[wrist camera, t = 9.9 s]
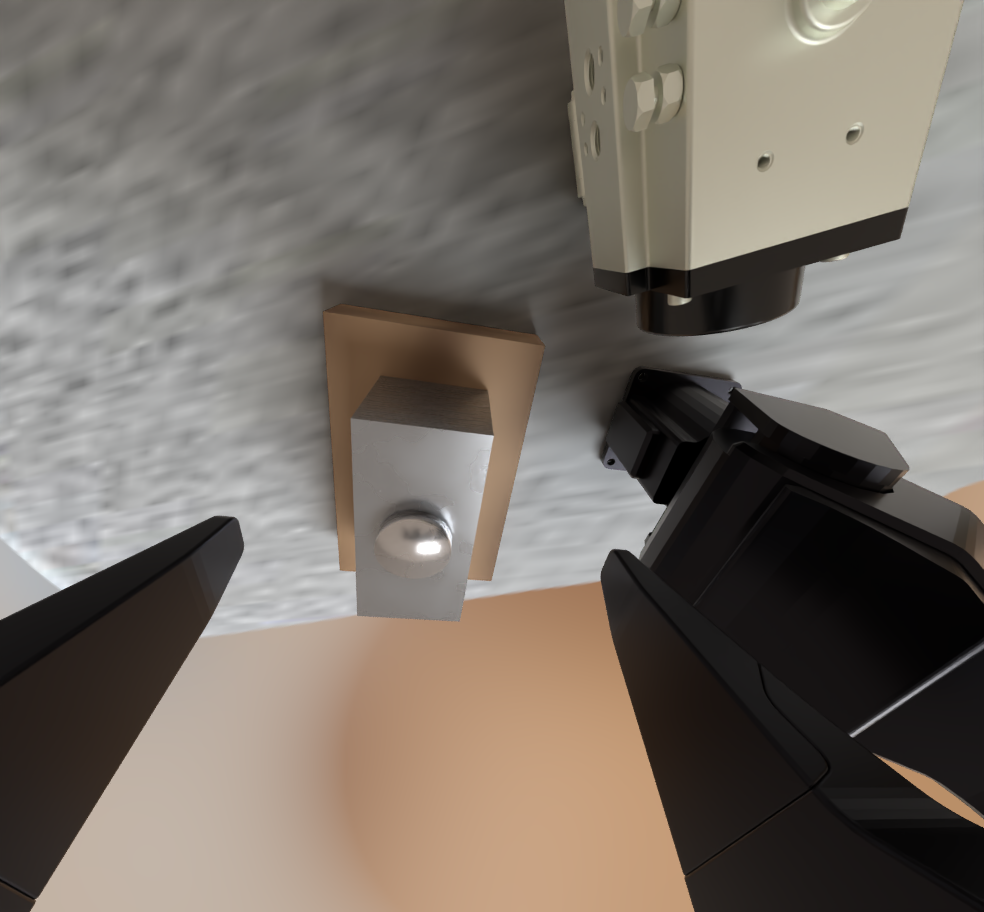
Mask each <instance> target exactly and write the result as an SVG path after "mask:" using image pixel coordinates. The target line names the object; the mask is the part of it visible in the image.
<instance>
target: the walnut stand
mask: <svg viewBox="0 0 984 912" xmlns="http://www.w3.org/2000/svg"><path fill="white" fill-rule="evenodd" d="M323 321H324V336H325V352H326V367H327V382H328V397H329V412H330V427H331V442H332V458H333V473H334V488H335V503H336V518H337V533H338V548H339V564H340V570H342V571H356V562H355V532H354V503H353V473H352V444H351V417H352V416H353V414H354V413H355V411H356V410H357V408H358V407H359V406H360V404H361V403H362V401H363V400H364V398H365V397H366V396H367V394H368V393H369V391H370V390H371V388H372V387H373V386H374V384H375V383H376V381H377V380H378V378H379V377H380V376H381V375H382V376H389V377H396V378H403V379H411V380H418V381H425V382H432V383H440V384H447V385H454V386H462V387H469V388H476V389H483V390H488V394H489V402H490V410H491V418H492V426H493V434H494V437H493V443H492V448H491V453H490V459H489V464H488V470H487V475H486V481H485V486H484V492H483V497H482V503H481V508H480V513H479V519H478V524H477V530H476V535H475V541H474V546H473V552H472V557H471V563H470V568H469V573H468V579H470V580H485V581H491V580H492V576H493V572H494V567H495V563H496V558H497V554H498V550H499V545H500V541H501V537H502V532H503V528H504V524H505V519H506V515H507V510H508V506H509V502H510V497H511V493H512V489H513V484H514V480H515V476H516V471H517V467H518V462H519V458H520V454H521V449H522V445H523V441H524V436H525V432H526V428H527V423H528V419H529V414H530V410H531V406H532V401H533V397H534V393H535V388H536V384H537V380H538V375H539V371H540V366H541V362H542V358H543V353H544V349H545V345H544V344H543V342H542V341H541V340H540V339H539V337H538V336H537V335H535V334H528V333H522V332H516V331H509V330H503V329H497V328H490V327H484V326H478V325H471V324H465V323H459V322H452V321H446V320H440V319H434V318H427V317H421V316H415V315H408V314H402V313H396V312H389V311H383V310H377V309H370V308H364V307H358V306H351V305H345V304H339V305H337V306H334V307H332V308H330V309H328V310H325V311H323Z"/></svg>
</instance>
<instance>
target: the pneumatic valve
mask: <svg viewBox="0 0 984 912" xmlns="http://www.w3.org/2000/svg"><path fill="white" fill-rule="evenodd" d="M963 2H964V0H564V4H565V14H566V23H567V32H568V41H569V50H570V60H571V69H572V78H573V87H574V90H573V91H572V92H571V97H572V99H571V102H569V103H568V104H567V106H568V115H569V123H570V132H571V140H572V149H573V158H574V166H575V174H576V183H577V192H578V198H580V197H582V199H583V204H584V206H586V207H587V216H588V225H589V234H590V243H591V252H592V262H593V271H594V280H595V286H596V287H599V288H602V289H606V290H609V291H612V292H615V293H618V294H622V295H625V296H631V295H634V294H635V304H636V322H637V326H638V328H639V329H640V330H642V331H644V332H646V333H649V334H654V335H662V336H697V335H708V334H715V333H723V332H728V331H734V330H739V329H744V328H748V327H752V326H756V325H759V324H763V323H766V322H769V321H772V320H774V319H777V318H779V317H781V316H783V315H785V314H787V313H789V312H791V311H792V310H793V309H794V308H796V306H797V305H798V304H799V301H800V296H801V290H802V283H803V277H804V271H805V265H809V264H812V263H816V262H819V261H820V262H832V261H838V260H842V259H845V258H847V257H848V256H849V253H851V252H855V251H858V250H862V249H865V248H869V247H872V246H876V245H879V244H883V243H887V242H890V241H894V240H897V239H900V237H901V233H902V229H903V226H904V222H905V218H906V214H907V211H908V206H909V203H910V199H911V196H912V192H913V188H914V185H915V181H916V177H917V173H918V170H919V166H920V162H921V159H922V155H923V151H924V147H925V144H926V140H927V136H928V132H929V129H930V125H931V121H932V118H933V114H934V110H935V106H936V103H937V99H938V95H939V92H940V88H941V84H942V80H943V77H944V73H945V69H946V66H947V62H948V58H949V54H950V51H951V47H952V43H953V39H954V36H955V32H956V28H957V25H958V21H959V17H960V13H961V10H962V6H963Z"/></svg>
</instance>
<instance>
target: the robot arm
mask: <svg viewBox="0 0 984 912" xmlns="http://www.w3.org/2000/svg"><path fill="white" fill-rule="evenodd" d="M642 373H645V375H644V377H643V378H642V379H641V380H639V379H638V378H639V376H640V374H642ZM731 387H733V389H732V390H731V391H730V392H728V391H729V389H730V388H731ZM606 442H607V445H606V447H605V450H604V453H603V456H602V459H601V461H602V463H603V465H604V466H605V467H606V468H608V469H615V470H624V471H627V472H628V473H629V475H630V476H631V477H632V478H635V479H637V480H638V481H639V483H640V484H641V485H642V487H643V488H644V490H645V491H646V492H647V494H648V495H649V497H650V498H651V499H652V501H653V502H654V503H656V504H664V505H666V507H667V508H666V510H665V511H664V513H663V515H662V516H661V518H660V520H659V521H658V523H657V525H656V526H655V528H654V530H653V532H650V533H649V534H648V536H647V538H646V539H645V546H644V548H643V549H642V551H641V553H640V557H639V559H637V558H636V557H635V556H634V555H633V554H632V553H630V552H629V551H627V550H620V549H613V550H611V551H610V552H609V554H608V557H607V559H606V561H605V564H604V566H603V568H602V571H601V584H602V589H603V594H604V600H605V604H606V610H607V615H608V620H609V625H610V630H611V635H612V638H613V642H614V646H615V650H616V653H617V656H618V659H619V663H620V666H621V669H622V672H623V676H624V679H625V682H626V686H627V689H628V692H629V696H630V699H631V702H632V705H633V709H634V712H635V715H636V719H637V722H638V725H639V729H640V732H641V735H642V739H643V742H644V745H645V748H646V752H647V755H648V759H649V762H650V765H651V768H652V771H653V775H654V778H655V782H656V785H657V788H658V791H659V795H660V798H661V801H662V805H663V808H664V811H665V815H666V818H667V821H668V824H669V828H670V831H671V835H672V838H673V841H674V844H675V848H676V851H677V854H678V857H679V861H680V864H681V868H682V870H683V873H684V875H685V882H686V885H687V888H688V892H689V895H690V898H691V902H692V905H693V908H694V911H695V912H984V828H983V827H981V826H979V825H977V824H975V823H973V822H971V821H969V820H967V819H965V818H963V817H961V816H960V815H958V814H956V813H955V812H952V811H951V810H949V809H948V808H946V807H944V806H943V805H941V804H940V803H938V802H937V801H935V800H934V799H932V798H931V797H929V796H928V795H926V794H925V793H924V792H922V791H921V790H920V789H918V788H917V787H916V786H914V785H913V784H912V783H910V782H909V781H908V780H907V779H905V778H904V777H903V776H901V775H900V774H899V773H897V772H896V771H895V770H894V769H892V768H891V767H890V766H888V765H887V764H886V763H884V762H883V761H882V760H881V759H879V758H878V757H881V758H883V759H886V760H888V761H890V762H893V763H895V764H898V765H900V766H903V767H905V768H907V769H910V770H912V771H915V772H917V773H920V774H922V775H925V776H926V777H928V778H930V779H932V780H934V781H935V782H937V783H938V784H939V785H941V786H942V787H944V788H945V789H946V790H947V791H949V792H950V793H952V794H953V795H954V796H956V797H957V798H958V799H960V800H961V801H962V802H963V803H965V804H966V805H967V806H969V807H970V808H971V809H972V810H973V811H975V812H976V813H977V814H978V815H980V816H981V817H982V818H983V819H984V524H983V523H982V522H981V520H980V519H979V518H978V517H977V516H976V515H975V514H974V513H973V512H971V511H970V510H968V509H967V508H965V507H963V506H961V505H959V504H957V503H955V502H953V501H951V500H948V499H946V498H944V497H942V496H940V495H938V494H935V493H933V492H931V491H929V490H927V489H925V488H922V487H920V486H918V485H916V484H914V483H912V482H909V481H907V480H905V479H903V478H902V477H903V476H904V475H905V474H906V473H907V472H908V470H909V466H908V464H907V463H906V461H905V460H904V458H903V457H902V456H901V454H900V453H899V451H898V450H897V449H896V447H895V446H894V444H893V443H892V441H891V440H890V439H889V437H888V436H887V434H886V433H884V432H882V431H880V430H877V429H875V428H872V427H870V426H867V425H865V424H862V423H860V422H857V421H855V420H852V419H850V418H847V417H845V416H842V415H840V414H837V413H835V412H832V411H830V410H827V409H823V408H819V407H815V406H811V405H807V404H802V403H798V402H794V401H790V400H786V399H781V398H777V397H773V396H769V395H765V394H761V393H756V392H752V391H748V390H744V389H742V387H741V385H740V384H739V383H737V382H736V381H733V380H727V379H721V378H714V377H708V376H701V375H695V374H688V373H682V372H675V371H669V370H662V369H656V368H649V367H638V368H636V369H635V370H634V371H633V373H632V375H631V378H630V380H629V383H628V386H627V389H626V392H625V394H624V397H623V400H622V401H621V402H620V403H618V406H617V408H616V411H615V414H614V417H613V420H612V423H611V425H610V428H609V431H608V434H607V437H606ZM609 459H613V460H612V461H611V462H607V461H608V460H609ZM243 550H244V542H243V537H242V533H241V529H240V525H239V521H238V520H237V519H236V518H235V517H229V516H214V517H212V518H209V519H207V520H205V521H203V522H201V523H199V524H197V525H195V526H193V527H191V528H189V529H187V530H185V531H183V532H181V533H179V534H176V535H174V536H172V537H170V538H168V539H166V540H164V541H162V542H160V543H158V544H156V545H154V546H152V547H150V548H148V549H146V550H144V551H142V552H139V553H137V554H135V555H133V556H131V557H129V558H127V559H125V560H123V561H121V562H119V563H117V564H115V565H113V566H111V567H109V568H107V569H104V570H102V571H100V572H98V573H96V574H94V575H92V576H90V577H88V578H86V579H84V580H82V581H80V582H78V583H76V584H74V585H72V586H69V587H67V588H65V589H63V590H61V591H59V592H57V593H55V594H53V595H51V596H49V597H47V598H45V599H43V600H41V601H39V602H37V603H35V604H32V605H30V606H28V607H26V608H24V609H22V610H20V611H18V612H16V613H14V614H12V615H10V616H8V617H6V618H4V619H2V620H0V912H30V911H31V909H32V908H33V906H34V904H35V902H36V900H35V899H36V898H38V897H39V895H40V894H41V892H42V891H43V889H44V887H45V886H46V884H47V883H48V881H49V879H50V878H51V876H52V874H53V872H54V871H55V869H56V868H57V866H58V865H59V863H60V862H61V860H62V858H63V857H64V855H65V853H66V852H67V850H68V849H69V847H70V845H71V844H72V842H73V840H74V839H75V837H76V836H77V834H78V832H79V831H80V829H81V828H82V826H83V824H84V823H85V821H86V819H87V818H88V816H89V815H90V813H91V811H92V810H93V808H94V807H95V805H96V803H97V802H98V800H99V798H100V797H101V795H102V794H103V792H104V790H105V789H106V787H107V785H108V784H109V782H110V781H111V779H112V777H113V776H114V774H115V772H116V771H117V769H118V768H119V766H120V764H121V763H122V761H123V760H124V758H125V756H126V755H127V753H128V752H129V750H130V748H131V747H132V745H133V743H134V742H135V740H136V739H137V737H138V735H139V734H140V732H141V731H142V729H143V727H144V726H145V724H146V723H147V721H148V719H149V718H150V716H151V714H152V713H153V711H154V710H155V708H156V706H157V705H158V703H159V701H160V700H161V698H162V697H163V695H164V693H165V692H166V690H167V689H168V687H169V685H170V684H171V682H172V680H173V679H174V677H175V676H176V674H177V672H178V671H179V669H180V668H181V666H182V664H183V663H184V661H185V659H186V658H187V656H188V655H189V653H190V651H191V650H192V648H193V647H194V645H195V643H196V642H197V640H198V638H199V637H200V635H201V634H202V632H203V630H204V629H205V627H206V625H207V624H208V622H209V620H210V619H211V617H212V615H213V613H214V611H215V609H216V607H217V605H218V603H219V601H220V599H221V597H222V595H223V593H224V591H225V589H226V587H227V585H228V583H229V580H230V578H231V576H232V574H233V572H234V570H235V568H236V566H237V564H238V562H239V560H240V558H241V556H242V553H243ZM875 755H876V756H875ZM877 756H878V757H877Z"/></svg>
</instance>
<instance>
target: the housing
mask: <svg viewBox="0 0 984 912" xmlns="http://www.w3.org/2000/svg"><path fill="white" fill-rule="evenodd" d="M493 437H494V434H493V426H492V418H491V410H490V402H489V394H488V390H483V389H476V388H469V387H462V386H454V385H447V384H440V383H432V382H425V381H418V380H411V379H403V378H396V377H389V376H382V375H381V376H380V377H379V378H378V380H377V381H376V383H375V384H374V386H373V387H372V388H371V390H370V391H369V393H368V394H367V396H366V397H365V398H364V400H363V401H362V403H361V404H360V406H359V407H358V408H357V410H356V411H355V413H354V414H353V416H352V417H351V444H352V473H353V503H354V532H355V562H356V591H357V616H370V617H389V618H406V619H407V618H408V619H424V620H442V621H460V617H461V611H462V606H463V601H464V595H465V590H466V584H467V579H468V573H469V568H470V563H471V557H472V552H473V546H474V541H475V535H476V530H477V524H478V519H479V513H480V508H481V503H482V497H483V492H484V486H485V481H486V475H487V470H488V464H489V459H490V453H491V448H492V443H493Z"/></svg>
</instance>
